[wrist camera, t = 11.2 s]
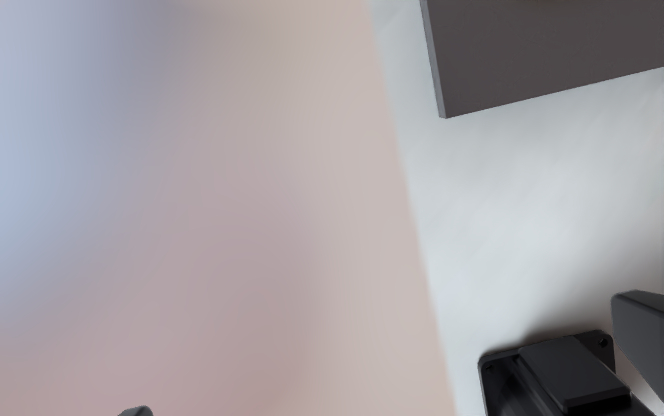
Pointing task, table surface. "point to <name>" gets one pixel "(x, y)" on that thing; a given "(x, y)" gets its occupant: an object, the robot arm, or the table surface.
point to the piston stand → (535, 47)
